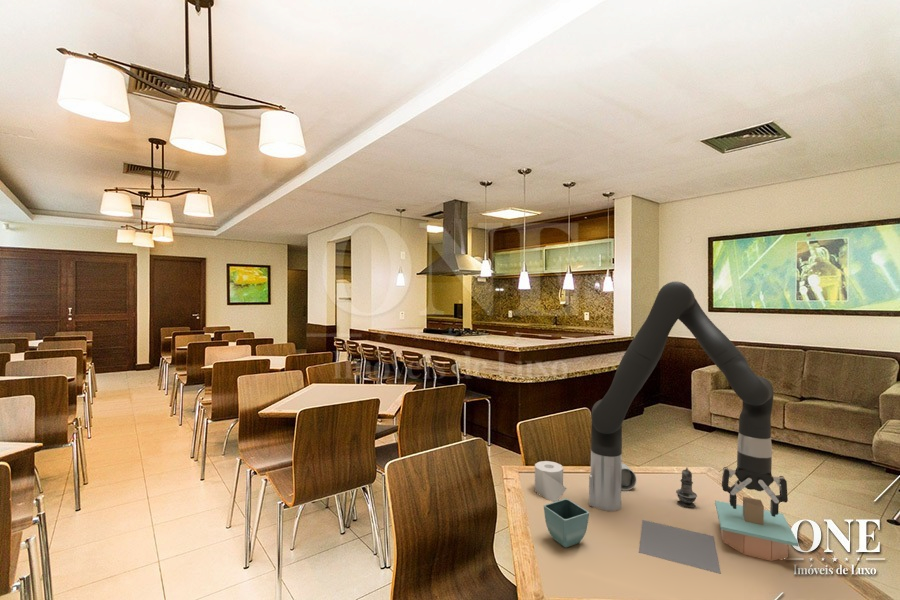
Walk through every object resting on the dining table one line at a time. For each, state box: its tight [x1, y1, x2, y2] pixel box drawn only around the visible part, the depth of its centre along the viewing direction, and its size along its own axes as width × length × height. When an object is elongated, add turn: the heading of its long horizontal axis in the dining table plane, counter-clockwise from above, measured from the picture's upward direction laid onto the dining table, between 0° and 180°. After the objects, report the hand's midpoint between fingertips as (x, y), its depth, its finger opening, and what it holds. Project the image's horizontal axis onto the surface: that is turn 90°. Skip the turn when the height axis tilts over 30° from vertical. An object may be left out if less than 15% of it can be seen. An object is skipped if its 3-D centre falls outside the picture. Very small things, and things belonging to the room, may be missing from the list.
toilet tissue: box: [534, 460, 568, 502], centre depth 143 cm, size 9×13×9 cm
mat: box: [638, 519, 722, 575], centre depth 114 cm, size 18×18×1 cm
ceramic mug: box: [621, 462, 637, 492], centre depth 150 cm, size 11×8×8 cm
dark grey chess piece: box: [675, 467, 698, 509], centre depth 136 cm, size 6×6×12 cm
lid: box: [714, 496, 800, 547], centre depth 114 cm, size 16×16×6 cm
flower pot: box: [543, 498, 590, 549], centre depth 115 cm, size 9×9×9 cm
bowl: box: [720, 529, 789, 562], centre depth 114 cm, size 14×14×6 cm
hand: (753, 511), depth 114 cm, fingers open, 8 cm apart
